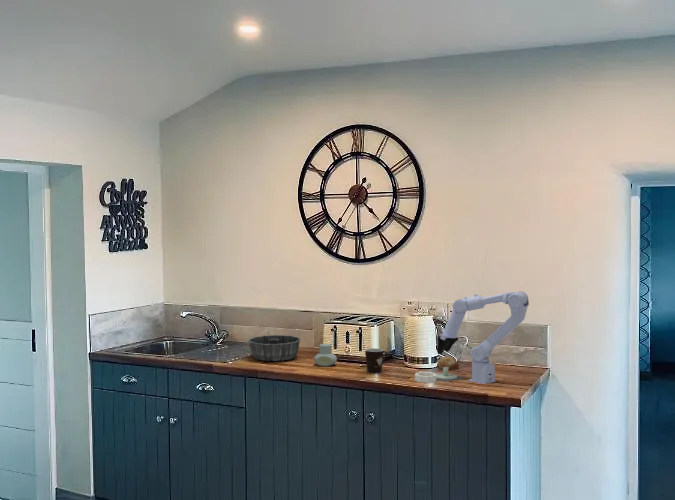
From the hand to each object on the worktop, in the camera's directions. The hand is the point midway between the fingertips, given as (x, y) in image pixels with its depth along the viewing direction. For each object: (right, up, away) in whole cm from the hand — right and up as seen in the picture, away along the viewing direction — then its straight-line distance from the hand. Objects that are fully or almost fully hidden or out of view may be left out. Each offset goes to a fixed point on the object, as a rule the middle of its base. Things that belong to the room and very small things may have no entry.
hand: (442, 351), depth 317 cm
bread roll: (+5, -11, +18) cm, 21 cm away
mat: (+1, -11, -2) cm, 12 cm away
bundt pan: (-78, -10, +44) cm, 90 cm away
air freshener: (-52, -11, +27) cm, 60 cm away
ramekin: (-8, -12, -8) cm, 17 cm away
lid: (+1, -11, -2) cm, 11 cm away
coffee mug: (-28, -11, +12) cm, 33 cm away
